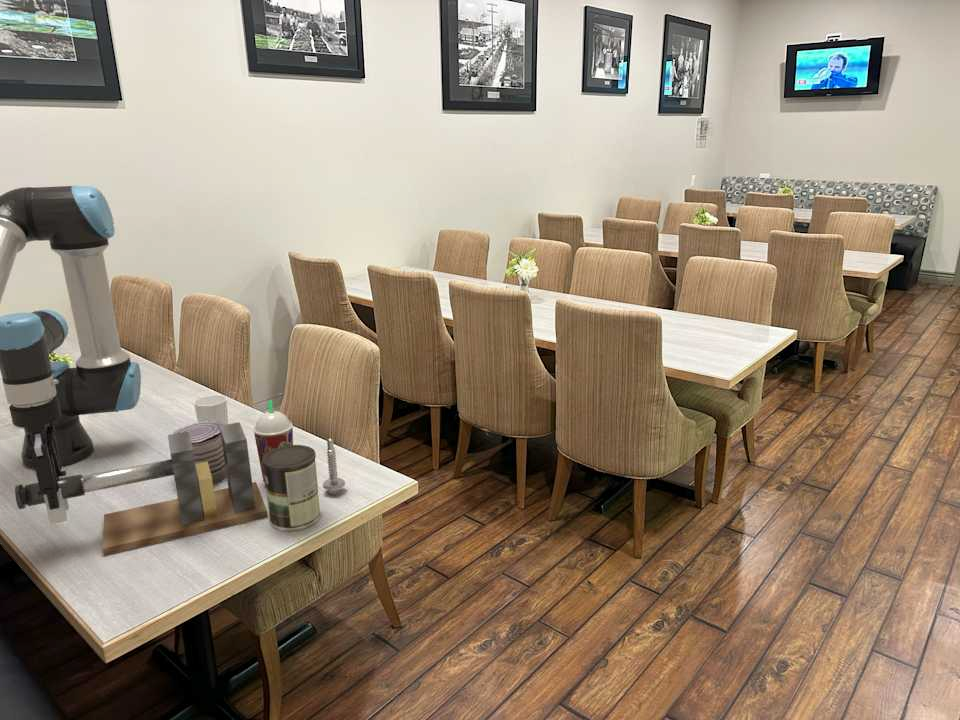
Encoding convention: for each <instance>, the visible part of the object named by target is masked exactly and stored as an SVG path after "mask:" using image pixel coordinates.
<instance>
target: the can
mask: <svg viewBox="0 0 960 720" xmlns="http://www.w3.org/2000/svg"><path fill="white" fill-rule="evenodd" d="M221 425H224V424H222V423H219V422H217V421H215V420H213V421H205V422H198V421H197V422H193V423H190V424H188V425H186V426H183V427H181V428H179V429H176V430H174V432H173V433H172V434H176V433H182V432H187V431H189V434H190V439H191V443H192V448H193V453H194V460H195V464H197V463H202V462H207V461H208V465H209V468H210V472H211V476H212V481H213V486H217V485H219V484H221V483H224V481H225V480H227V475H226V468H225V461H224V454H223V447H222V440H221V433H220V426H221Z"/></svg>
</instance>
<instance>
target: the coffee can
mask: <svg viewBox="0 0 960 720" xmlns="http://www.w3.org/2000/svg"><path fill="white" fill-rule="evenodd" d="M316 455H317V454H316V451H315V449H313V448H312V447H311V446H308V445H304V444H303V445H302V444H293V445H288V446H282V447H278V448H275V449H273V450H271V451H269V452H267V453H266V454H265V455H264V456H263V458H262V463H263V468H264V476H265V482H264V483H265V490H266V499H267V508H268V509H267V510H268V518H269V524H270V526H271V527H272V528H273V529H276V530H279V531H283V532H284V531H285V532H295V531H300V530H304V529H306V528H309V527H311V526H313V525H314V524H316V523H317V522H318V521H319V520H320V518H321V509H320V507H321V505H320V497H319V496H320V495H319V487H318V475H317V464H316V463H317V462H316Z"/></svg>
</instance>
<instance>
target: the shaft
mask: <svg viewBox="0 0 960 720" xmlns="http://www.w3.org/2000/svg"><path fill="white" fill-rule="evenodd" d="M172 476H174V472H173V466H172V460H171V458H169V459H165V460H160V461H155V462H149V463H144V464H140V465H133V466H128V467H123V468H118V469H113V470H108V471H107V470H106V471H102V472H96V473H93V474H87V475H83V474H81V473H80V474H75V475H70V476H63V477H59V479H57V481H58V486H59V488H61V493H62V497H63V499H67V500H68V499H72V498H73V499H74V498H77V497H82V496H85V495H86V493H91V492H96V491H101V490H107V489H110V488H111V489H112V488H117V487H122V486H126V485H130V484H135V483H140V482H141V483H142V482H145V481H150V480H157V479H161V478H162V479H163V478H166V477H172ZM38 491H40V488H39V484H38V482H33V483H28V484H25V485H23V484H18V485H15V488H14V492H15V493H14V495H15V501H16V504H17V508H18V509H19V510H22V509H23V510H24V509H26V508H27V506H28V507H32V506H37V505H42V504H45V500H44V495H38Z"/></svg>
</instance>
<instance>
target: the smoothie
mask: <svg viewBox="0 0 960 720" xmlns="http://www.w3.org/2000/svg"><path fill="white" fill-rule="evenodd" d="M272 400H273V399H269V400H268V407H269V411H266V412H264V413H263V414H261V415H259V416H260V417H258V419H257V420H256V422H255V425H254V427H253V429H252V430H253V431H252V432H253V433H254V434H253V436H254V439H255V444H256V450H257V455H258V460H259V465H260V470H261V475H262V479H263V480H262V481H263V482H264V483H265V476H264V468H263V463H262V458H263V456H264V455H265V454H266V453H267V452H269V451H271V450H273V449H275V448H278V447H282V446H288V445H294V432H293V427H294V426H293V423H292V422H291V421H290V419H289V418H288V416H287V415H285V414H284V413H282V412H280V411H278V410H273V409H274V407H273V401H272Z"/></svg>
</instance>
